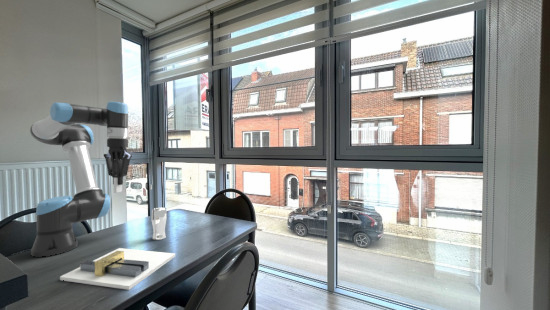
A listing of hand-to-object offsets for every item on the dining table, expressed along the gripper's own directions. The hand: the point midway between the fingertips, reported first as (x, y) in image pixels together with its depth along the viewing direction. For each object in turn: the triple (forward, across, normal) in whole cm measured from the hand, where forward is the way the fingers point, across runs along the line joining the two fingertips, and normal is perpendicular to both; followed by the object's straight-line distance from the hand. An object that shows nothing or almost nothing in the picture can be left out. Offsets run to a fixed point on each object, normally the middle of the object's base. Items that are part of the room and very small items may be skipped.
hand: (117, 192), depth 100 cm
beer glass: (+27, +5, +19) cm, 33 cm away
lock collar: (+25, +12, -14) cm, 31 cm away
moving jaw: (+25, +18, -12) cm, 33 cm away
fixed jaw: (+25, +14, -15) cm, 33 cm away
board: (+27, +13, -10) cm, 31 cm away
